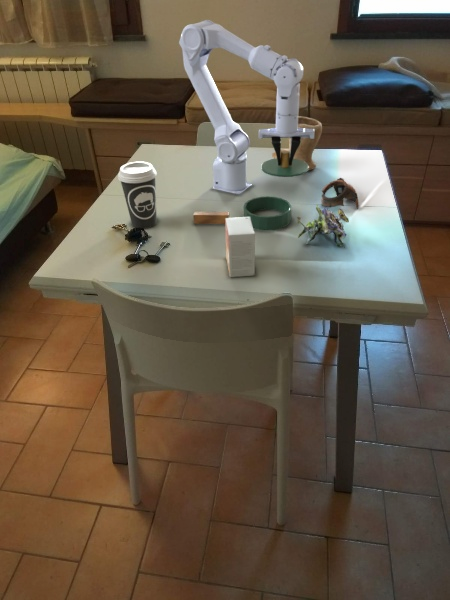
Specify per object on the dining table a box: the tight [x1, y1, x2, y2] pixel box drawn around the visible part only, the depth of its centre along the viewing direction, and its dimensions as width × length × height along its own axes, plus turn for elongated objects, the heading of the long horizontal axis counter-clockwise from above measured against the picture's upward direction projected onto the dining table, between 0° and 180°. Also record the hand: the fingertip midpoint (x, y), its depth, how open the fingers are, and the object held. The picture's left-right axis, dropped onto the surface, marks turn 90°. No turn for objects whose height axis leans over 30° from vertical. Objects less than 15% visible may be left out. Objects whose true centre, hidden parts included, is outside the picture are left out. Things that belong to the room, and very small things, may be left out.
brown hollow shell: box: [320, 177, 360, 210], centre depth 129 cm, size 12×10×8 cm
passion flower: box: [296, 204, 350, 248], centre depth 112 cm, size 11×11×12 cm
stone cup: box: [271, 115, 323, 171], centre depth 151 cm, size 15×12×15 cm
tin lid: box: [260, 150, 309, 178], centre depth 131 cm, size 13×13×5 cm
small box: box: [224, 216, 256, 278], centre depth 104 cm, size 8×6×10 cm
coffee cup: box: [117, 161, 158, 229], centre depth 122 cm, size 10×10×15 cm
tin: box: [242, 196, 293, 231], centre depth 124 cm, size 12×12×4 cm
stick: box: [193, 211, 230, 225], centre depth 124 cm, size 9×2×3 cm, turn 85°
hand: (284, 164), depth 131 cm, fingers closed on tin lid, 2 cm apart
